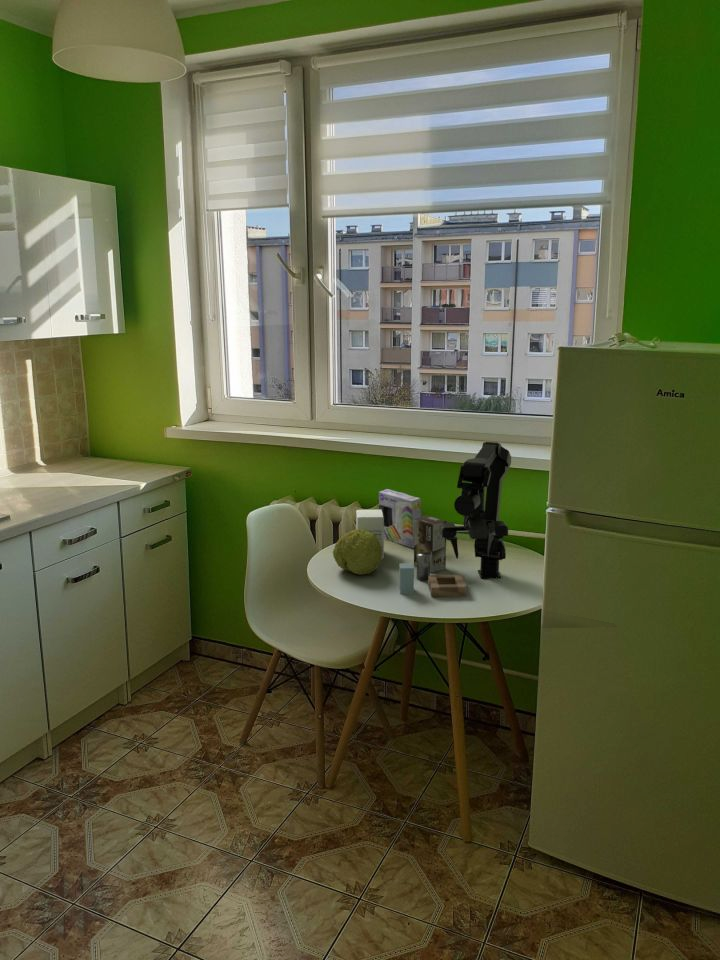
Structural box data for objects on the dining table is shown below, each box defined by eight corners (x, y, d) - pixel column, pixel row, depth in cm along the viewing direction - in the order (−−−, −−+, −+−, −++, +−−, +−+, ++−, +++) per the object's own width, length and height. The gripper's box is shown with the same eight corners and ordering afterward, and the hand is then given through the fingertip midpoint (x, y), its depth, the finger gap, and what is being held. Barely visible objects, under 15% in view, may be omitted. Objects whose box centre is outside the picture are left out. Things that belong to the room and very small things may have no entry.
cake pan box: (377, 536, 281) (377, 489, 277) (387, 533, 284) (387, 487, 280) (412, 550, 267) (412, 500, 262) (423, 547, 270) (423, 498, 265)
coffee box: (446, 568, 249) (447, 520, 245) (432, 573, 245) (433, 524, 241) (427, 561, 256) (427, 514, 252) (412, 565, 252) (413, 518, 248)
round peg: (415, 576, 243) (416, 552, 241) (429, 575, 243) (429, 551, 241) (417, 581, 238) (417, 556, 237) (430, 580, 239) (431, 556, 237)
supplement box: (356, 551, 266) (355, 509, 262) (382, 550, 266) (382, 508, 263) (357, 560, 257) (356, 517, 253) (384, 559, 257) (384, 516, 254)
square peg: (399, 588, 233) (399, 563, 231) (412, 588, 233) (412, 563, 231) (400, 593, 229) (400, 568, 227) (413, 593, 229) (413, 568, 227)
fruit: (324, 576, 243) (322, 529, 246) (352, 580, 254) (350, 535, 258) (366, 570, 233) (363, 521, 237) (392, 574, 244) (390, 527, 248)
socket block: (428, 584, 236) (428, 575, 235) (460, 583, 236) (461, 574, 235) (431, 597, 226) (431, 587, 225) (465, 596, 226) (465, 587, 225)
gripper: (445, 515, 209) (445, 569, 213) (514, 513, 210) (512, 566, 214) (439, 503, 220) (438, 555, 224) (504, 501, 221) (502, 552, 225)
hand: (472, 557), depth 221 cm, fingers open, 9 cm apart
